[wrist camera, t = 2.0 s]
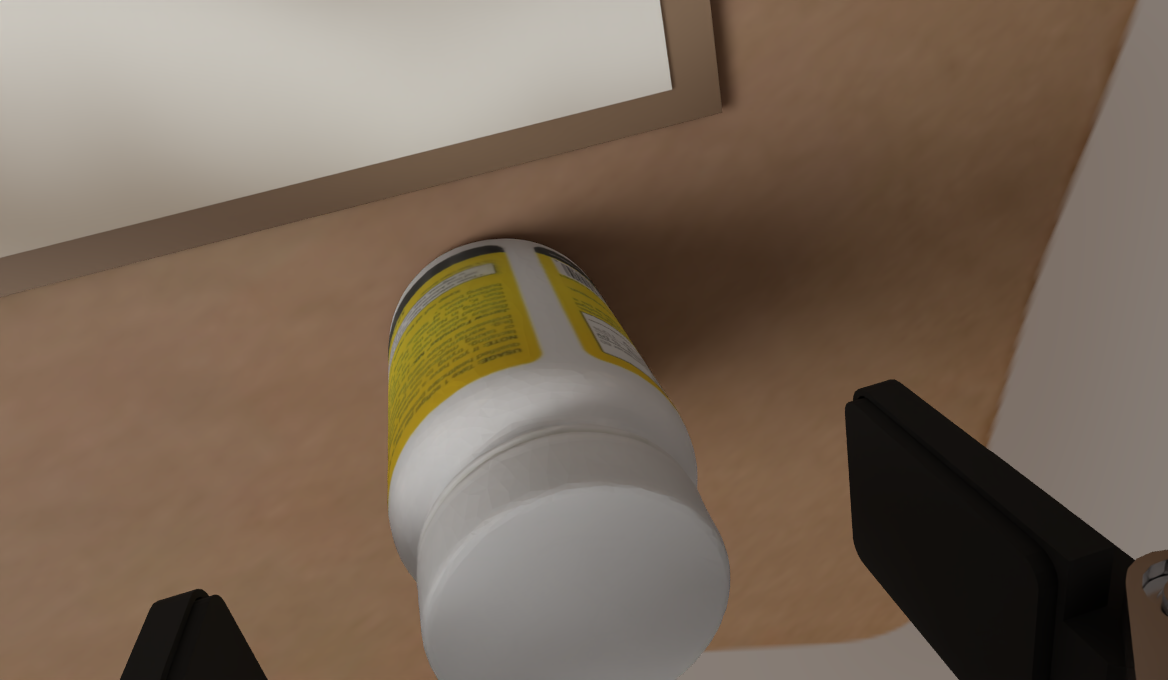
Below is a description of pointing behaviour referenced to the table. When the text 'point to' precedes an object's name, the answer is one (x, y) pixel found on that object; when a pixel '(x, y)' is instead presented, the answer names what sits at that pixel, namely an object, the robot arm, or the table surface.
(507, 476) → the supplement bottle
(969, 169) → the table surface
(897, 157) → the table surface
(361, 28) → the clipboard
